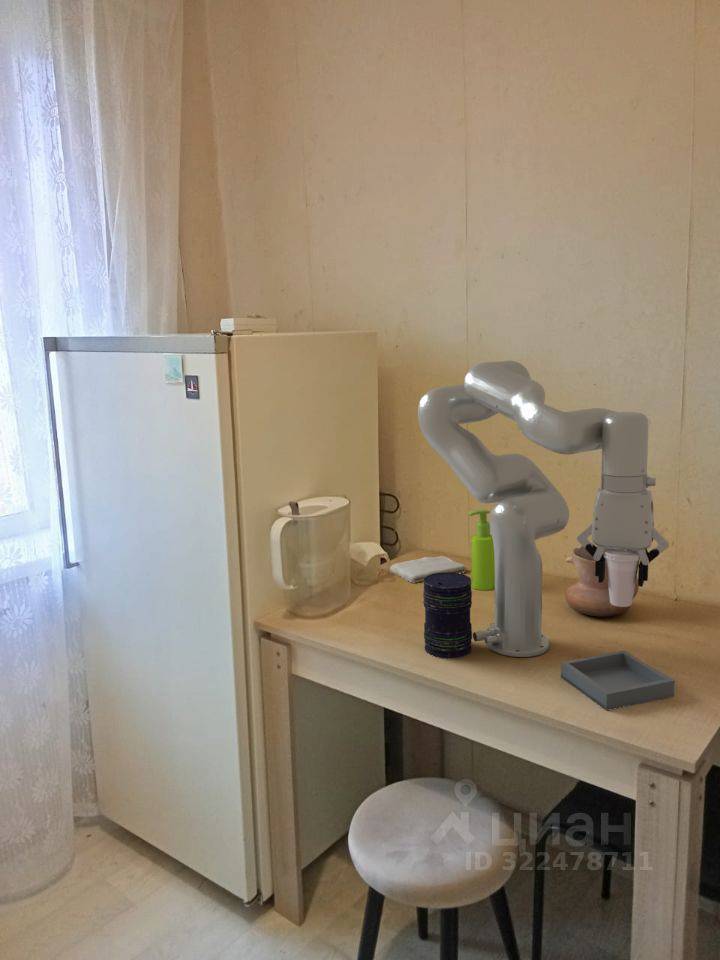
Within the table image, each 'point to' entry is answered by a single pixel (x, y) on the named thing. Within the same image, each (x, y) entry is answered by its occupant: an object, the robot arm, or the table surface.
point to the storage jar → (447, 615)
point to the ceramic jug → (591, 587)
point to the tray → (617, 679)
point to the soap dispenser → (482, 554)
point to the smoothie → (621, 574)
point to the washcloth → (425, 568)
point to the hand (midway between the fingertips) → (621, 581)
